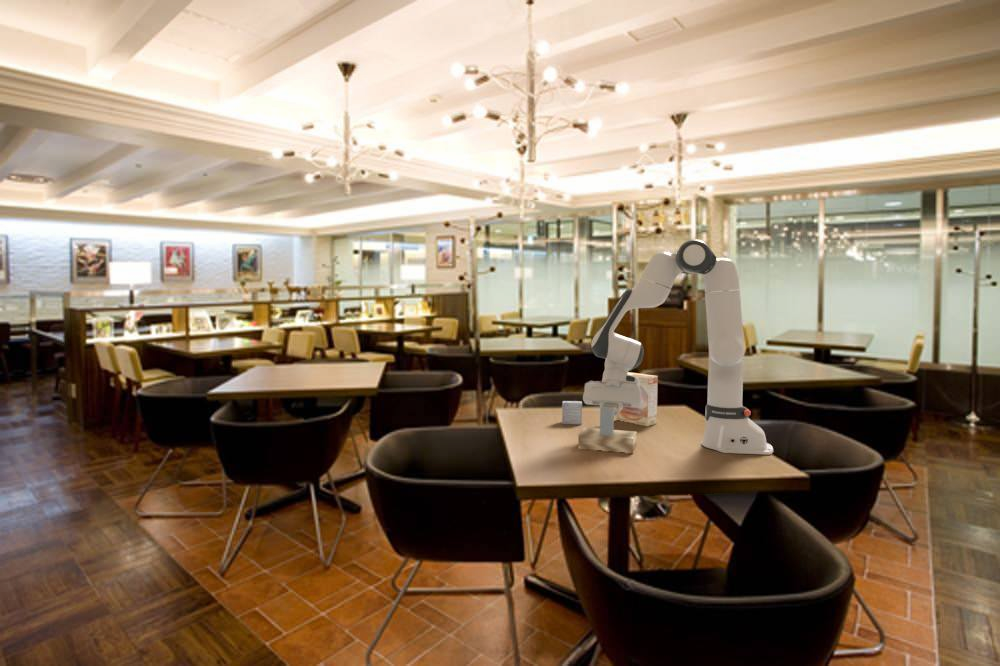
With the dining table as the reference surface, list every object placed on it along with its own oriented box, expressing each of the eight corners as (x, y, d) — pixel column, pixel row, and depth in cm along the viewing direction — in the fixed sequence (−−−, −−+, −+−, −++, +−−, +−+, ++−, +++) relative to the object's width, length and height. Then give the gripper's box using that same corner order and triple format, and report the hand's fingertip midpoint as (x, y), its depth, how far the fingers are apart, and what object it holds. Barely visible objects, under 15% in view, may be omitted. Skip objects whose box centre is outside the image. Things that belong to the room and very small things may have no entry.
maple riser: (636, 446, 197) (636, 431, 196) (633, 453, 187) (633, 438, 187) (584, 441, 203) (584, 427, 202) (578, 448, 193) (578, 434, 193)
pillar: (613, 433, 193) (614, 407, 192) (612, 436, 190) (612, 409, 189) (601, 432, 194) (602, 406, 194) (599, 435, 191) (600, 408, 191)
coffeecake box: (615, 420, 236) (616, 373, 234) (625, 417, 241) (626, 371, 239) (647, 426, 225) (648, 377, 223) (657, 423, 230) (658, 375, 228)
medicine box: (581, 422, 232) (581, 401, 232) (582, 424, 228) (582, 403, 227) (561, 421, 233) (562, 400, 232) (562, 424, 229) (562, 402, 228)
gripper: (584, 375, 207) (578, 407, 199) (642, 378, 201) (639, 411, 192) (586, 385, 212) (581, 417, 203) (643, 389, 205) (640, 422, 197)
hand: (609, 414), depth 198 cm, fingers open, 3 cm apart
